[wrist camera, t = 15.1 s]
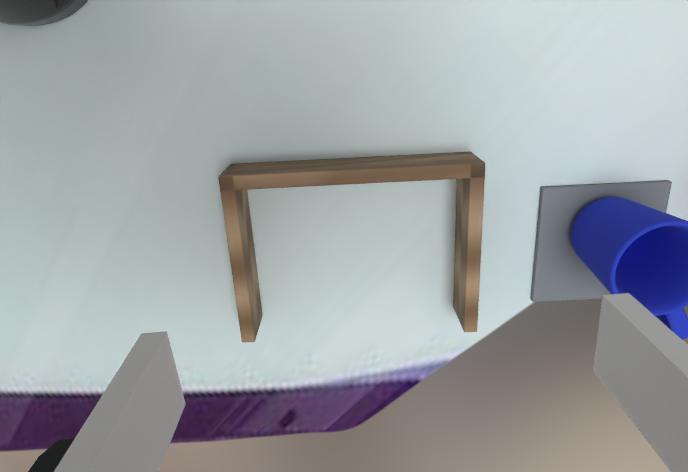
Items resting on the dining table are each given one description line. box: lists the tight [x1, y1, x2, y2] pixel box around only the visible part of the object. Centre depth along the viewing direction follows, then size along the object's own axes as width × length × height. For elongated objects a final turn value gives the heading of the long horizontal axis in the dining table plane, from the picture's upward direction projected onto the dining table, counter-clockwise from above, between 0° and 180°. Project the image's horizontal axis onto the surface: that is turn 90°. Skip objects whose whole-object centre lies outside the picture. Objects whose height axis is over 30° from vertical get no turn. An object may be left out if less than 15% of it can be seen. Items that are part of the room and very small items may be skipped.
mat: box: [531, 180, 672, 302], centre depth 49 cm, size 12×12×1 cm
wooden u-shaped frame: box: [219, 152, 485, 342], centre depth 47 cm, size 16×22×5 cm
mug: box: [571, 197, 688, 340], centre depth 44 cm, size 8×12×10 cm
